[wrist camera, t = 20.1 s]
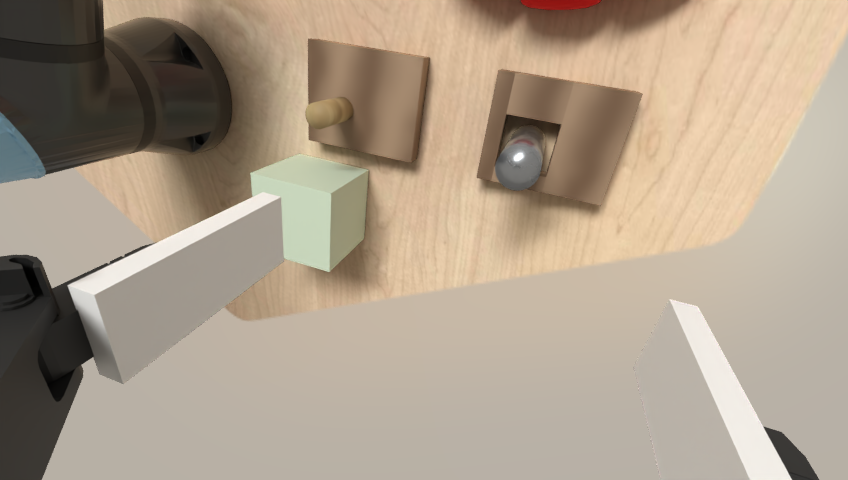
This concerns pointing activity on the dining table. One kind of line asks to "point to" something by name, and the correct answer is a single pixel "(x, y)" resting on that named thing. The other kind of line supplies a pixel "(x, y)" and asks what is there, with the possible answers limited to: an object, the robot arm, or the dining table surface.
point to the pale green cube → (317, 207)
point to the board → (366, 98)
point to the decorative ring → (559, 4)
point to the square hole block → (564, 130)
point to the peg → (521, 158)
